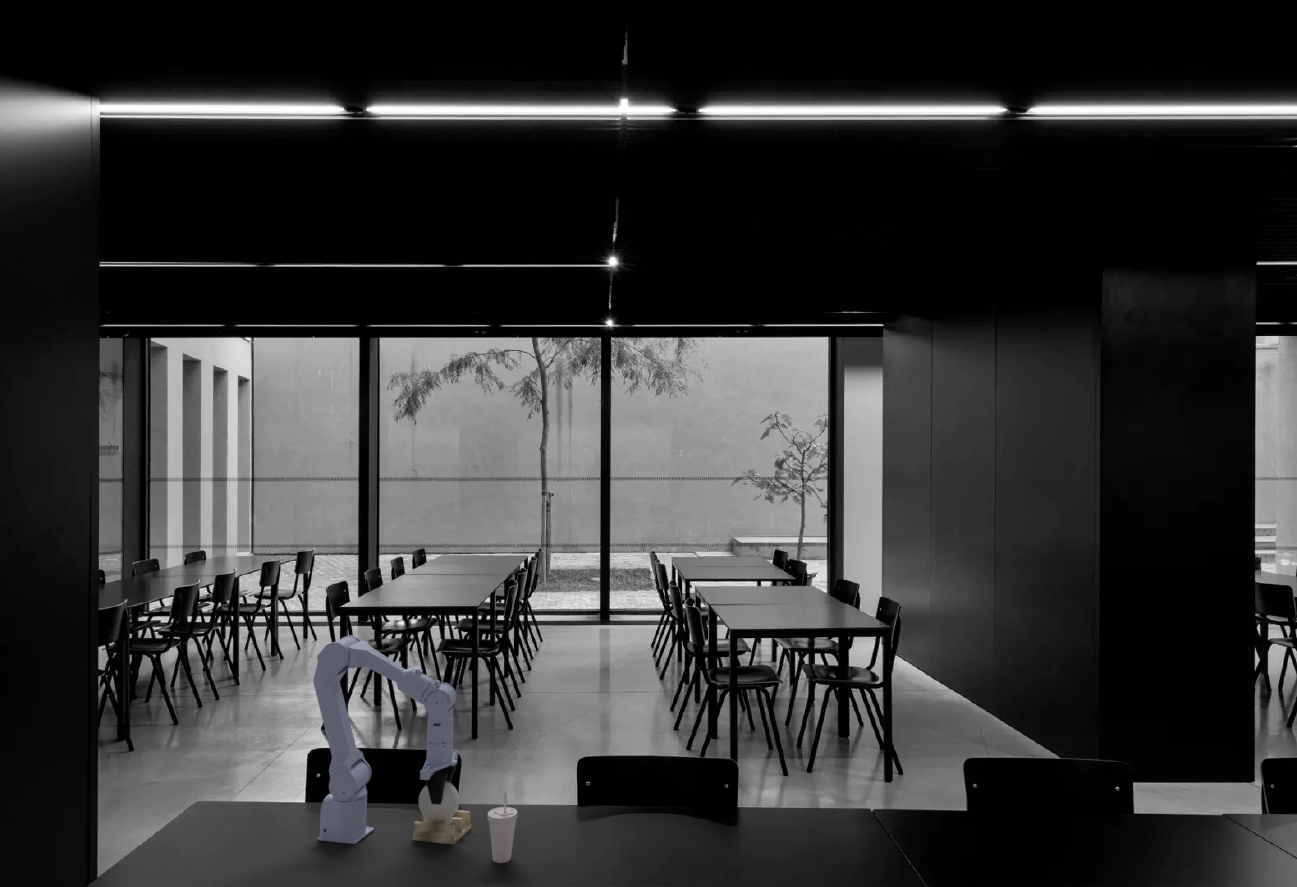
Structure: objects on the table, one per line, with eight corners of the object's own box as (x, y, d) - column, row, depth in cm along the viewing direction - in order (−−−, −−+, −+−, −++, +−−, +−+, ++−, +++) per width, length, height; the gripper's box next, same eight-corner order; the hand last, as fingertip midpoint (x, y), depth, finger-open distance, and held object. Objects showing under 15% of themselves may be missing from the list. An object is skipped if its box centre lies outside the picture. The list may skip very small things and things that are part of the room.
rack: (412, 840, 181) (412, 822, 181) (431, 824, 190) (431, 807, 190) (453, 844, 179) (454, 827, 179) (470, 828, 188) (471, 811, 188)
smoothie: (510, 867, 168) (511, 798, 169) (481, 864, 170) (482, 796, 170) (521, 853, 175) (522, 787, 175) (493, 851, 176) (494, 785, 177)
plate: (418, 821, 182) (418, 780, 183) (422, 818, 184) (423, 777, 185) (455, 825, 181) (455, 784, 181) (458, 821, 183) (459, 781, 183)
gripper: (441, 751, 176) (440, 815, 175) (470, 732, 190) (469, 791, 189) (411, 749, 177) (410, 813, 176) (442, 730, 191) (441, 788, 190)
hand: (438, 801), depth 183 cm, fingers closed on plate, 2 cm apart
